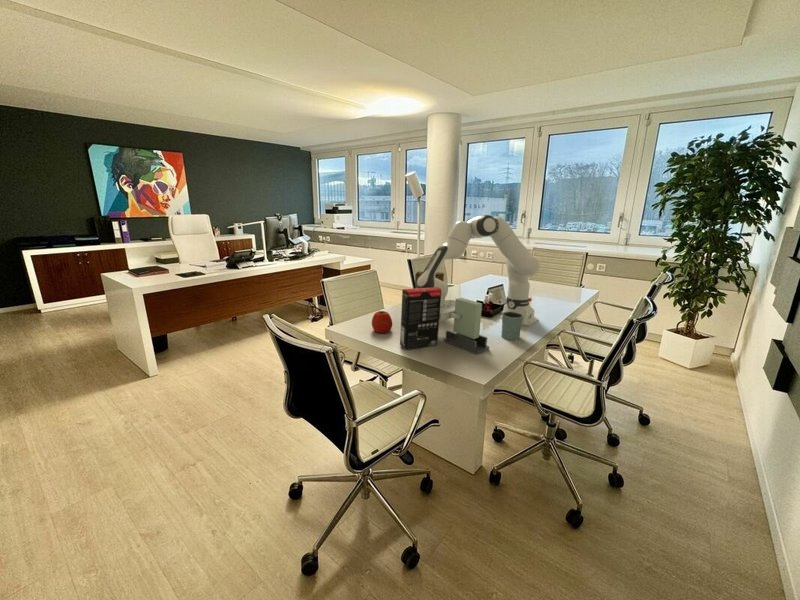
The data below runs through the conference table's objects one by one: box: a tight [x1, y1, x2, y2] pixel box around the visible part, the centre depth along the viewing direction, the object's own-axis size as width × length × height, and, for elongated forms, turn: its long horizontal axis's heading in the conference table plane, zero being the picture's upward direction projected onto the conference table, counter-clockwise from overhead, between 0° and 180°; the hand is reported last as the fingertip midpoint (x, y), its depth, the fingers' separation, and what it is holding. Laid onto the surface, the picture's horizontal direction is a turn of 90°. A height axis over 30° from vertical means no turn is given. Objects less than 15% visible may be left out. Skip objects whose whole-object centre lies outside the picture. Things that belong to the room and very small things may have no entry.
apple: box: [371, 310, 393, 334], centre depth 175 cm, size 11×11×11 cm
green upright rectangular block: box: [452, 297, 483, 339], centre depth 156 cm, size 4×12×16 cm, turn 40°
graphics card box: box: [399, 287, 441, 350], centre depth 155 cm, size 17×7×27 cm, turn 114°
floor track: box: [442, 330, 490, 355], centre depth 159 cm, size 9×20×6 cm, turn 40°
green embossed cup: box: [501, 312, 523, 341], centre depth 170 cm, size 10×10×12 cm
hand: (464, 316), depth 157 cm, fingers closed on green upright rectangular block, 4 cm apart
